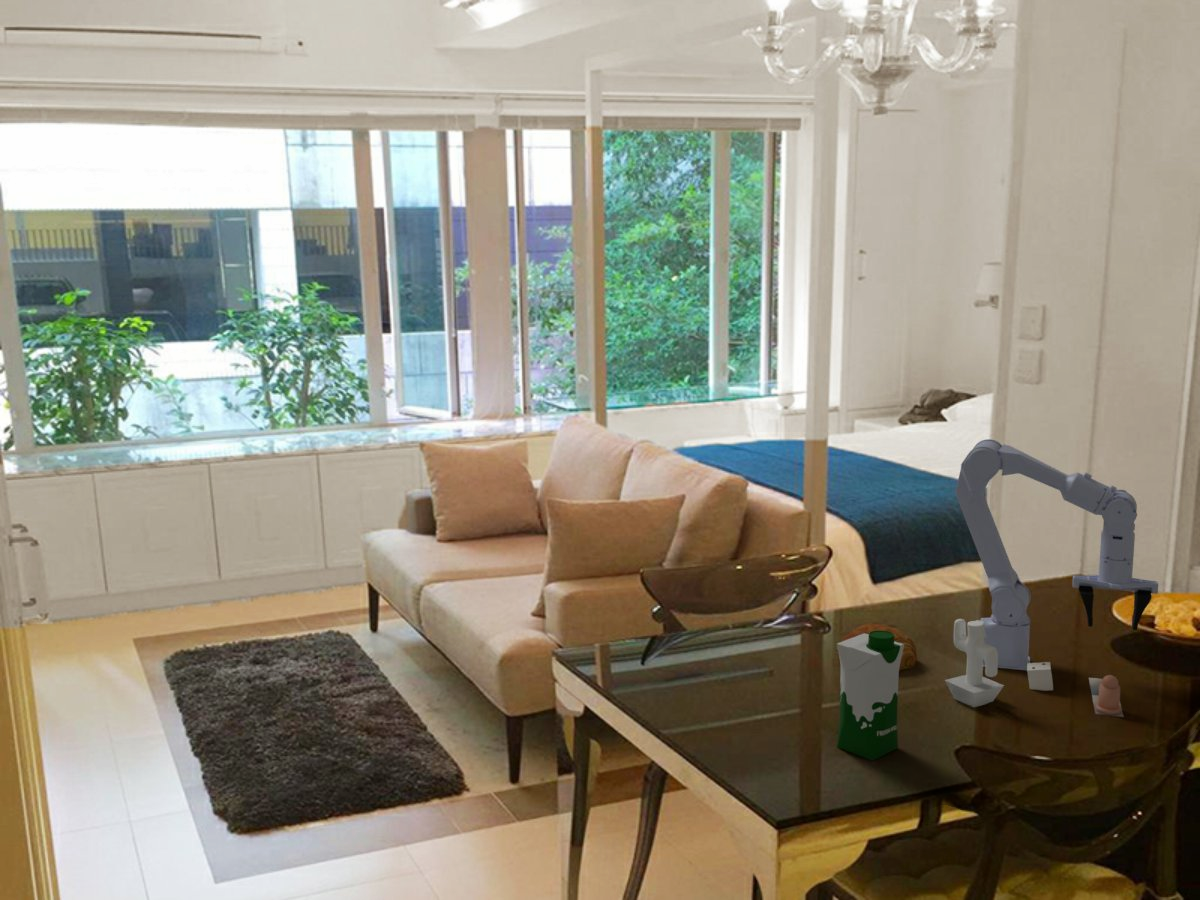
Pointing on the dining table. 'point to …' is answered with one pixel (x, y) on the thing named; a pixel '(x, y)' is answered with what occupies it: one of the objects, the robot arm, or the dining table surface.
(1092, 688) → the board
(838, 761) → the dining table surface
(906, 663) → the croissant
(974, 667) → the figurine
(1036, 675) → the die
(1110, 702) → the pawn
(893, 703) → the milk carton
